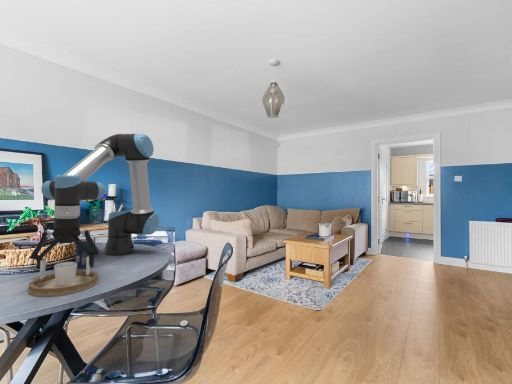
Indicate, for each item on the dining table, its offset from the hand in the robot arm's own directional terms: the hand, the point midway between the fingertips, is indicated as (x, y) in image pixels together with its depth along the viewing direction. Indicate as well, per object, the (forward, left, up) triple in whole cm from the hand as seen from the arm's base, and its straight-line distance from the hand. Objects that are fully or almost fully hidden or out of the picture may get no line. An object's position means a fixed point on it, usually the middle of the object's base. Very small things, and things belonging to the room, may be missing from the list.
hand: (65, 276), depth 95 cm
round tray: (0, 0, -3) cm, 3 cm away
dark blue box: (-10, -22, -4) cm, 24 cm away
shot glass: (0, 0, -3) cm, 3 cm away
